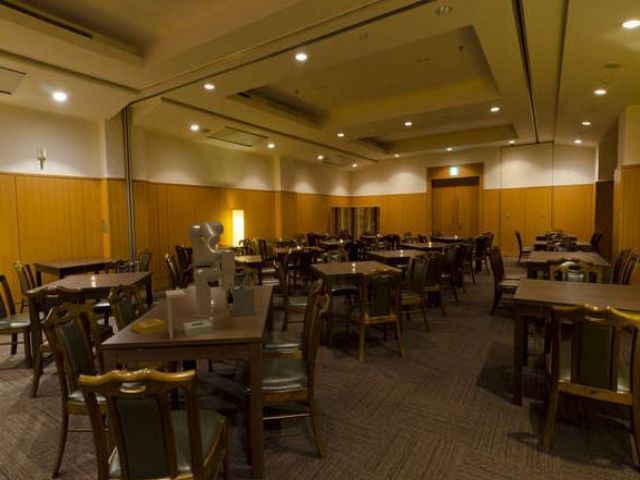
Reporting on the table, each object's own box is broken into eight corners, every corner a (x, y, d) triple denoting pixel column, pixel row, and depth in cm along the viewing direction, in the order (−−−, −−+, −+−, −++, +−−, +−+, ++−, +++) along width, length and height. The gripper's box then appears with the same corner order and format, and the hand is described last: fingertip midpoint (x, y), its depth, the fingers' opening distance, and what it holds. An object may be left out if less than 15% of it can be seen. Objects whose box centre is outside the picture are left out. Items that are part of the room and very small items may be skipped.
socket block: (167, 332, 216) (165, 291, 215) (208, 326, 226) (206, 287, 225) (169, 339, 204) (167, 295, 202) (212, 332, 213) (210, 290, 212)
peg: (225, 308, 222) (224, 288, 222) (232, 307, 224) (231, 287, 223) (227, 310, 219) (226, 289, 218) (234, 309, 220) (233, 288, 220)
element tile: (166, 329, 225) (166, 320, 224) (140, 335, 213) (140, 326, 213) (154, 324, 235) (154, 317, 234) (129, 330, 223) (129, 322, 223)
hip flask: (254, 314, 253) (253, 284, 252) (255, 315, 249) (254, 285, 248) (230, 316, 249) (228, 285, 248) (230, 317, 245) (228, 286, 244)
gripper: (219, 269, 226) (220, 300, 227) (224, 273, 211) (226, 306, 212) (231, 268, 229) (232, 299, 230) (238, 272, 214) (239, 304, 215)
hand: (229, 302), depth 221 cm, fingers closed on peg, 4 cm apart
